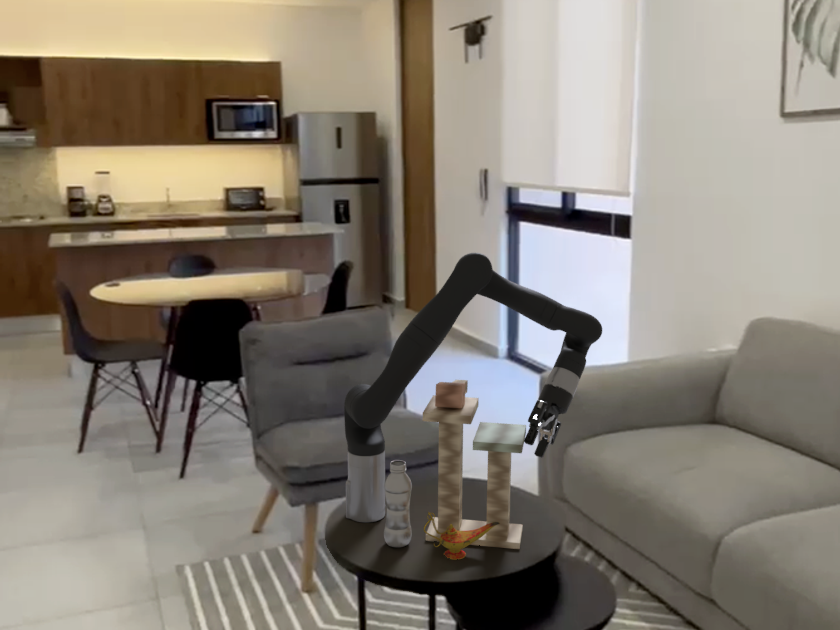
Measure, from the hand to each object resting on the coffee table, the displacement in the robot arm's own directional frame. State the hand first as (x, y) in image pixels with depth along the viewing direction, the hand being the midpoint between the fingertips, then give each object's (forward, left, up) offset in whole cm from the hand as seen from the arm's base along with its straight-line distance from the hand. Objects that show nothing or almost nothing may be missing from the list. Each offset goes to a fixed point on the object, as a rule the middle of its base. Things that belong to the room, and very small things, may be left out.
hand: (533, 450), depth 202 cm
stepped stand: (-13, -6, -20) cm, 25 cm away
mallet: (-19, 0, +11) cm, 22 cm away
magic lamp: (-15, -15, -21) cm, 29 cm away
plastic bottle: (-30, -14, -21) cm, 39 cm away
